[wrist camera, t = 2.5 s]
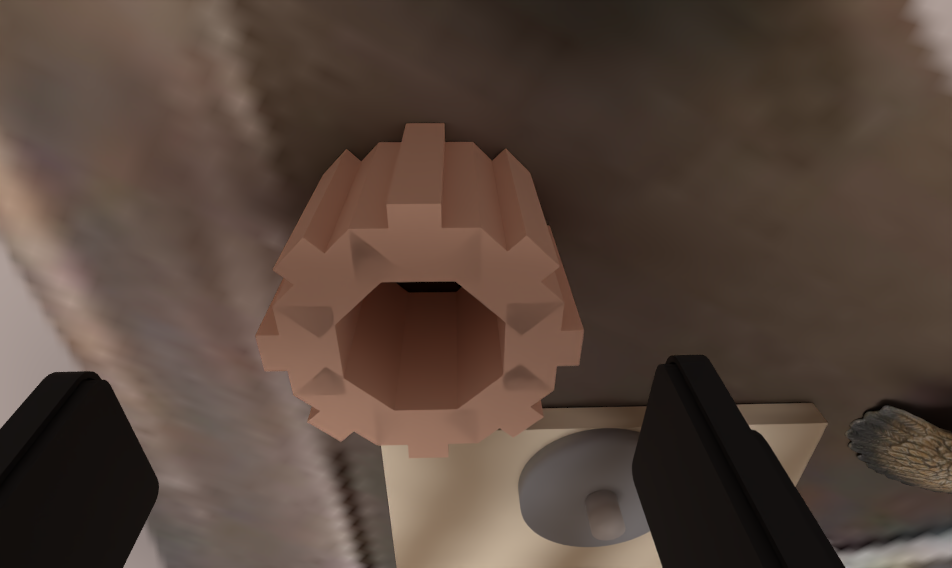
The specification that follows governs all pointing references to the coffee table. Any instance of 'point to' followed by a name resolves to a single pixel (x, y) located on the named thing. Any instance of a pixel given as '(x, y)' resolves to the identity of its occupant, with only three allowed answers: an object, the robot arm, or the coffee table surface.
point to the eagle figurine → (904, 448)
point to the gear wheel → (422, 297)
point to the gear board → (551, 491)
